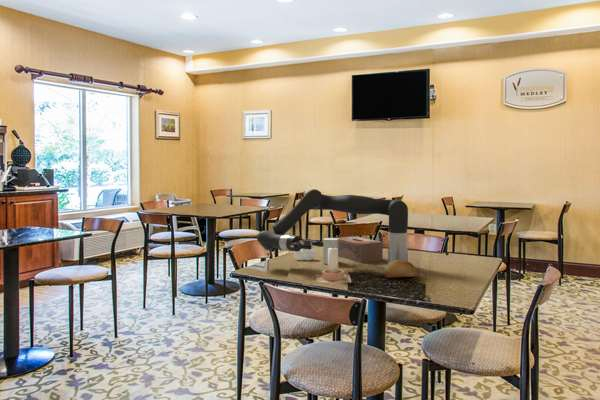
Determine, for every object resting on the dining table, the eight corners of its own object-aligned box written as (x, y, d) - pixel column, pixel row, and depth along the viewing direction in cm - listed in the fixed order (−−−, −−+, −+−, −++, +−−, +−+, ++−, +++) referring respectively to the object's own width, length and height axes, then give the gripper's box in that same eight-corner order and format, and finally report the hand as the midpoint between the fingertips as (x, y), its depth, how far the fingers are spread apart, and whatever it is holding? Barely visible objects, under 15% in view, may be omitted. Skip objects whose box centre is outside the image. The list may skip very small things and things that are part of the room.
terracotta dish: (343, 275, 215) (343, 269, 214) (344, 280, 205) (344, 273, 205) (322, 275, 215) (322, 269, 215) (322, 280, 206) (322, 273, 205)
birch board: (349, 277, 217) (349, 274, 217) (351, 286, 202) (351, 282, 202) (316, 277, 218) (316, 274, 218) (315, 285, 203) (315, 282, 203)
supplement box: (337, 264, 247) (337, 240, 246) (322, 264, 249) (322, 239, 248) (338, 261, 254) (338, 237, 254) (324, 261, 256) (324, 237, 255)
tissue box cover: (382, 260, 258) (382, 242, 257) (360, 263, 251) (360, 244, 250) (354, 253, 281) (354, 236, 280) (333, 255, 274) (333, 238, 273)
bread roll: (420, 279, 214) (420, 261, 213) (387, 280, 212) (387, 262, 212) (413, 274, 223) (413, 257, 223) (381, 275, 222) (381, 258, 221)
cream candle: (337, 274, 212) (337, 245, 211) (338, 277, 208) (338, 247, 207) (327, 274, 212) (327, 245, 211) (327, 277, 208) (327, 247, 207)
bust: (315, 263, 262) (314, 245, 268) (316, 257, 255) (315, 238, 262) (293, 263, 261) (293, 245, 267) (293, 257, 255) (293, 238, 261)
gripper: (280, 237, 225) (306, 239, 214) (300, 233, 235) (326, 235, 224) (280, 253, 225) (307, 256, 214) (300, 248, 236) (327, 251, 225)
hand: (317, 245), depth 219 cm, fingers open, 8 cm apart
